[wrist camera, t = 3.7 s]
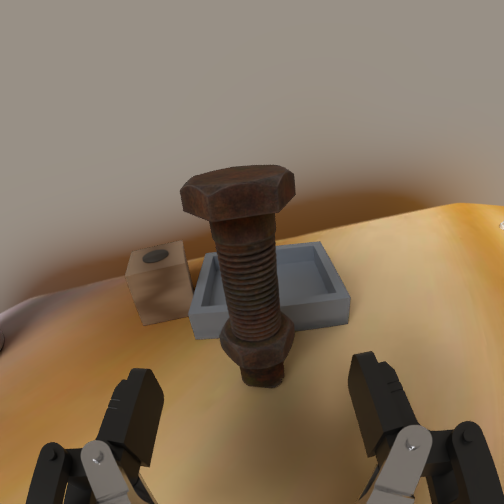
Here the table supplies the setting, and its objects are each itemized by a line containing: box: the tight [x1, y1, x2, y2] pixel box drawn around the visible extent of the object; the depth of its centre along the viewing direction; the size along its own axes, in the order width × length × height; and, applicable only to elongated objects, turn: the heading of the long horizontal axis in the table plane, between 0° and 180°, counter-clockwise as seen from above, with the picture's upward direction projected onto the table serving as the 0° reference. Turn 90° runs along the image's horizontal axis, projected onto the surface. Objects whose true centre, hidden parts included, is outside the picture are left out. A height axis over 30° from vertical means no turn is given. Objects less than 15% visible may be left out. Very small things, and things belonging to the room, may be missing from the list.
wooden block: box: [125, 240, 194, 326], centre depth 29 cm, size 6×6×6 cm
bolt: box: [180, 165, 296, 388], centre depth 17 cm, size 6×5×15 cm
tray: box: [188, 241, 351, 339], centre depth 29 cm, size 14×12×3 cm
